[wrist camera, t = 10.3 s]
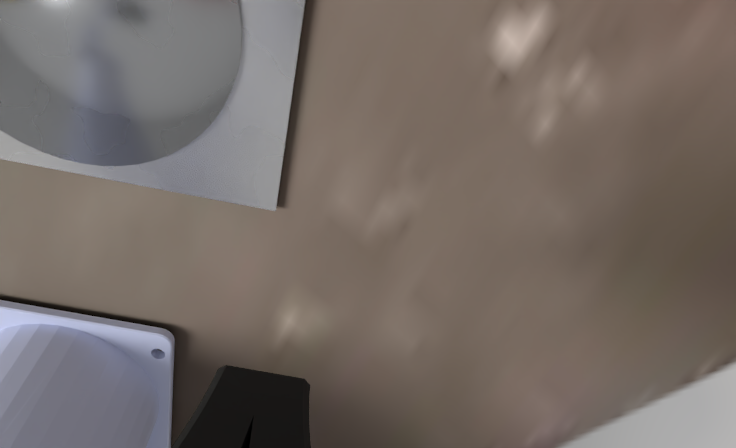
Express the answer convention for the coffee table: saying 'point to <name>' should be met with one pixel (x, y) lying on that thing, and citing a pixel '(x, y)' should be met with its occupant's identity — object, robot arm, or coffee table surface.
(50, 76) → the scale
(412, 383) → the coffee table surface
